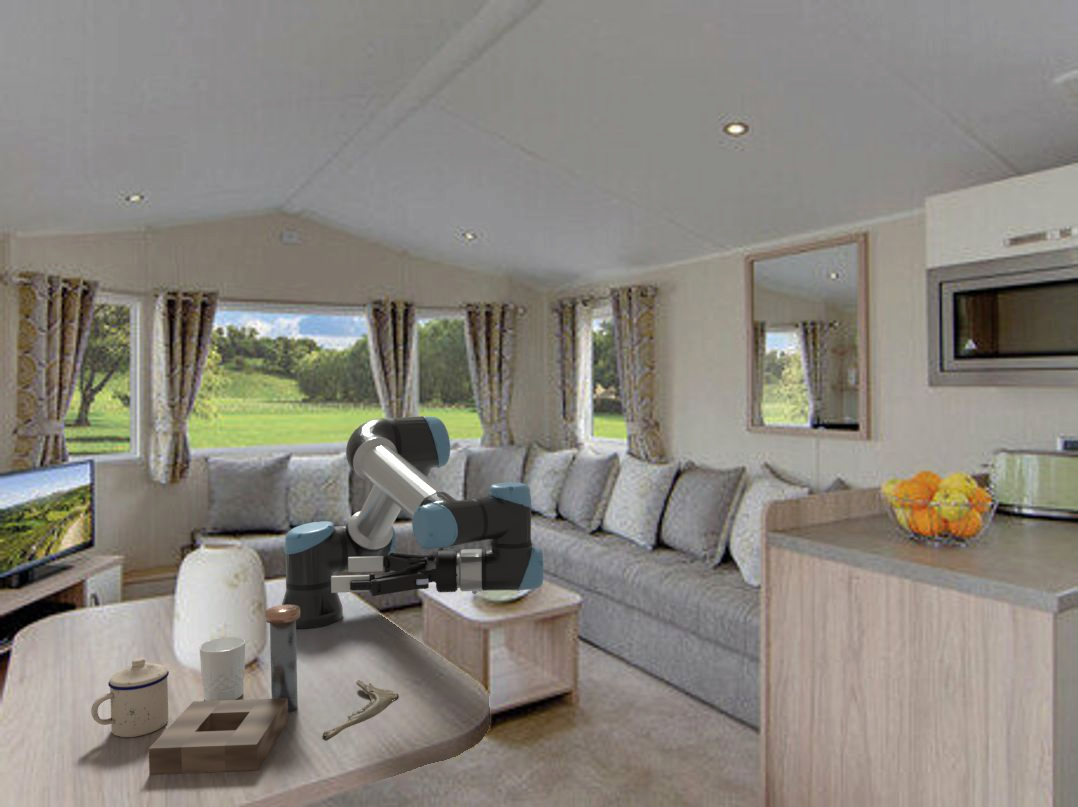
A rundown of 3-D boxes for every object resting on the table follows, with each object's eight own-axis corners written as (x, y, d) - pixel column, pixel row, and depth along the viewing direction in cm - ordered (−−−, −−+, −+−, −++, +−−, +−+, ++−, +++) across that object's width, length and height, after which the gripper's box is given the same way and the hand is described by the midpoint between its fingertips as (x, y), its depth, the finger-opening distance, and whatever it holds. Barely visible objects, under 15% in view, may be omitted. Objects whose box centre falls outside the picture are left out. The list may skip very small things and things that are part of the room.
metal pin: (273, 701, 134) (270, 605, 133) (306, 700, 134) (303, 604, 133) (262, 716, 128) (260, 615, 127) (297, 715, 128) (294, 614, 127)
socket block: (194, 724, 125) (193, 701, 125) (288, 720, 126) (287, 698, 126) (149, 774, 109) (148, 748, 109) (257, 770, 110) (256, 744, 110)
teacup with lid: (155, 709, 131) (153, 645, 130) (179, 723, 125) (177, 657, 125) (81, 735, 121) (79, 667, 121) (104, 752, 116) (102, 680, 115)
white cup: (236, 684, 142) (235, 633, 141) (253, 696, 136) (252, 643, 136) (194, 696, 136) (193, 644, 136) (210, 709, 130) (208, 655, 130)
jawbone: (403, 692, 139) (403, 682, 139) (374, 748, 119) (375, 736, 119) (356, 688, 139) (357, 677, 139) (320, 743, 119) (321, 731, 119)
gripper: (454, 612, 119) (324, 616, 118) (462, 573, 144) (355, 576, 143) (453, 567, 119) (323, 571, 118) (461, 535, 144) (354, 538, 143)
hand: (340, 573), depth 130 cm, fingers open, 13 cm apart
